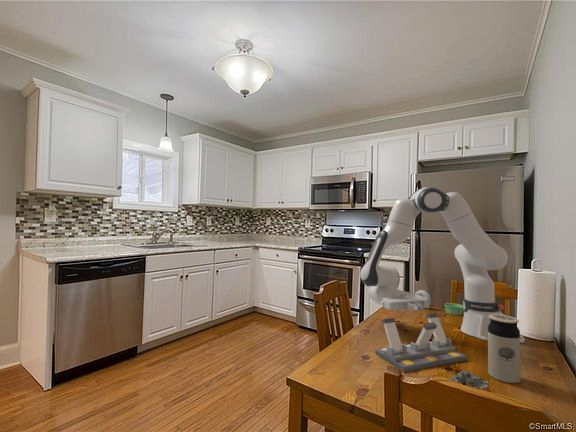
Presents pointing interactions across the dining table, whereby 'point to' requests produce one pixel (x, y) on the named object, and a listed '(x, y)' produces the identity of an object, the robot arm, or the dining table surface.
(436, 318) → the lever inner
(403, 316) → the dining table surface
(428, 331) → the lever middle
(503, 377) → the travel mug
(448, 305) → the ramekin
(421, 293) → the donut
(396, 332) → the lever outer
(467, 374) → the egg carton
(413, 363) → the switch panel
